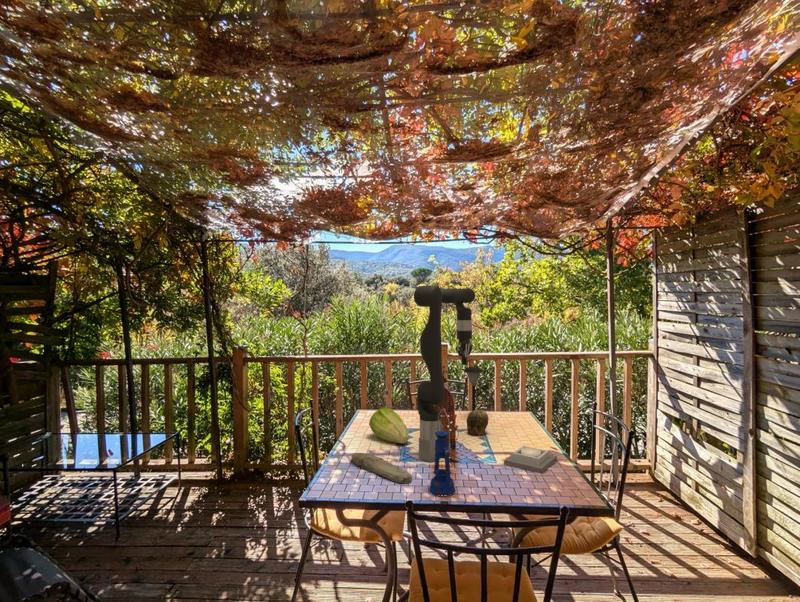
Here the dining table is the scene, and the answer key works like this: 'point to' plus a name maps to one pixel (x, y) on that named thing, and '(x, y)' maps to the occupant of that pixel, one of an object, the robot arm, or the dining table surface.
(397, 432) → the lettuce
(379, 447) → the dining table surface
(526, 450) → the button
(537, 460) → the button plate
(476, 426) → the brown rounded block
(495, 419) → the dining table surface
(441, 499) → the dining table surface
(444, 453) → the lantern
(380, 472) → the long grey stone
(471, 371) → the solar garden light
